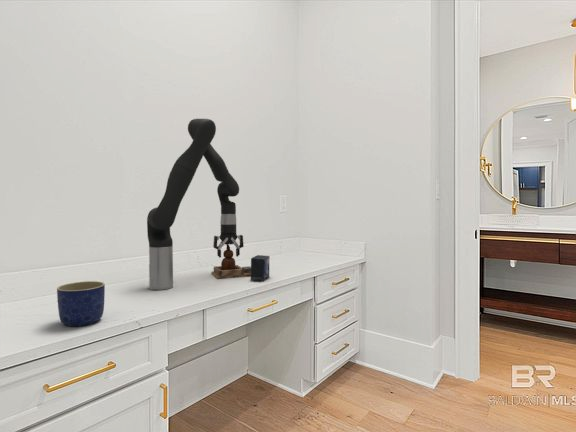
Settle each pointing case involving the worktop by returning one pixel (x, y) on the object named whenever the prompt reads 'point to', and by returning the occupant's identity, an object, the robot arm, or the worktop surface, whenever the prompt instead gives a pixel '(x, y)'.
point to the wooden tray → (231, 272)
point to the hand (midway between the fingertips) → (228, 256)
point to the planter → (81, 302)
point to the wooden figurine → (228, 259)
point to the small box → (260, 268)
